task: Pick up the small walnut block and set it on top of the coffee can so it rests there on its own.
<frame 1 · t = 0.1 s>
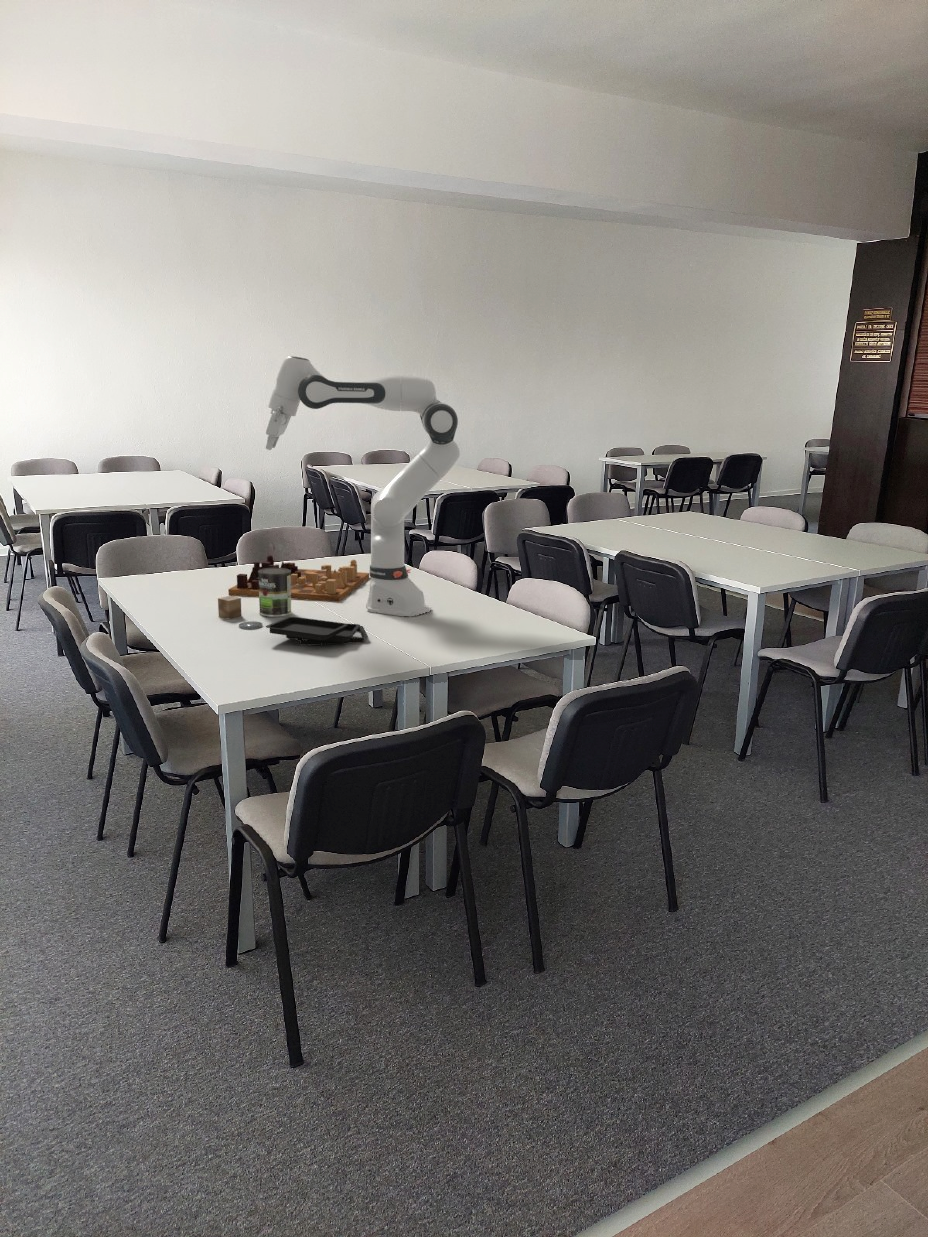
hand: (270, 448, 285), 52 cm above the table, tool tilted 20°, fingers open, 8 cm apart
walnut block: (230, 616, 284), on the table
slate coaster: (250, 627, 274), on the table
gameboard: (302, 588, 329), on the table
coffee can: (275, 613, 290), on the table
tray: (319, 642, 260), on the table
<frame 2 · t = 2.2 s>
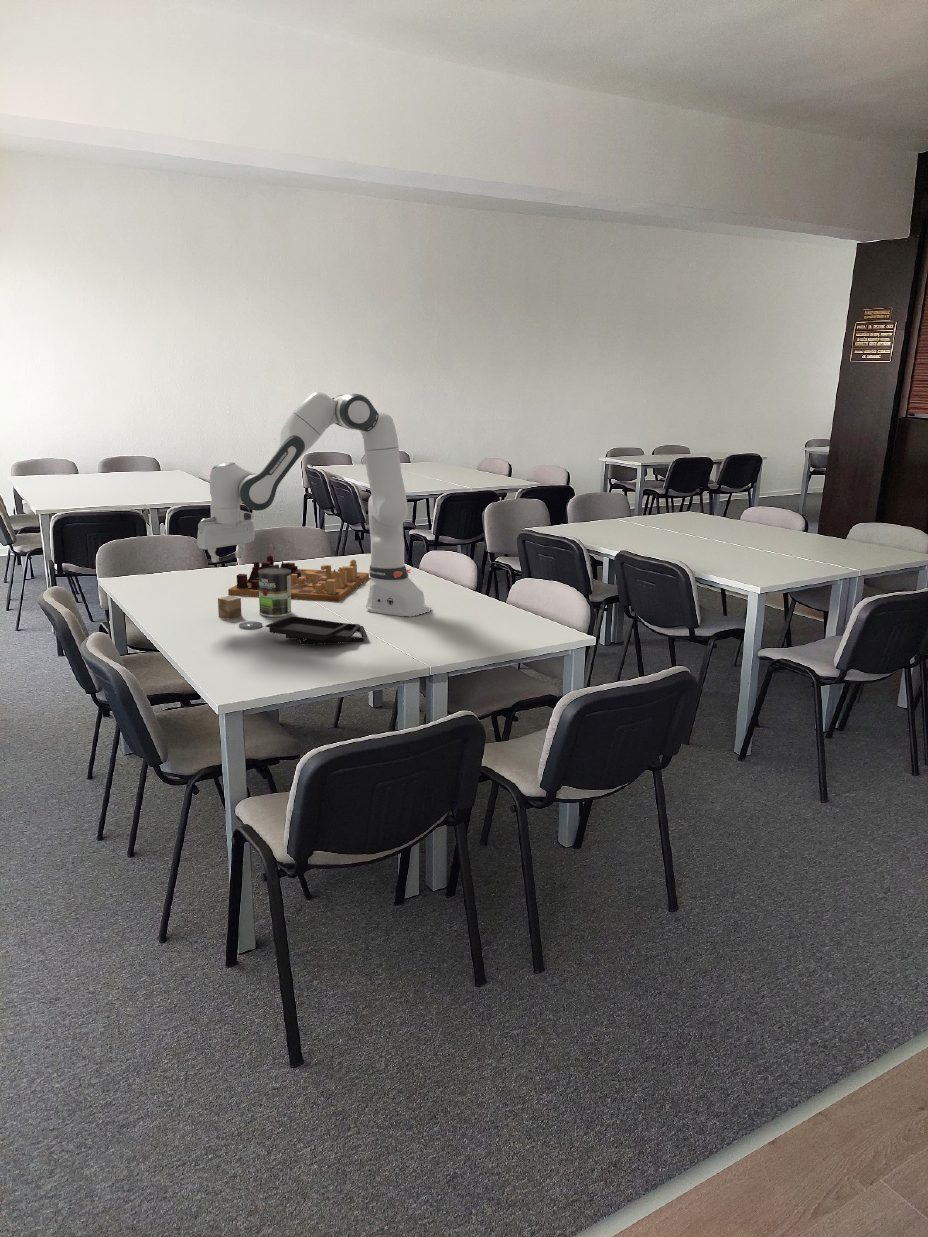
hand: (227, 559, 280), 18 cm above the table, tool pointing down, fingers open, 8 cm apart
nothing on the table moved.
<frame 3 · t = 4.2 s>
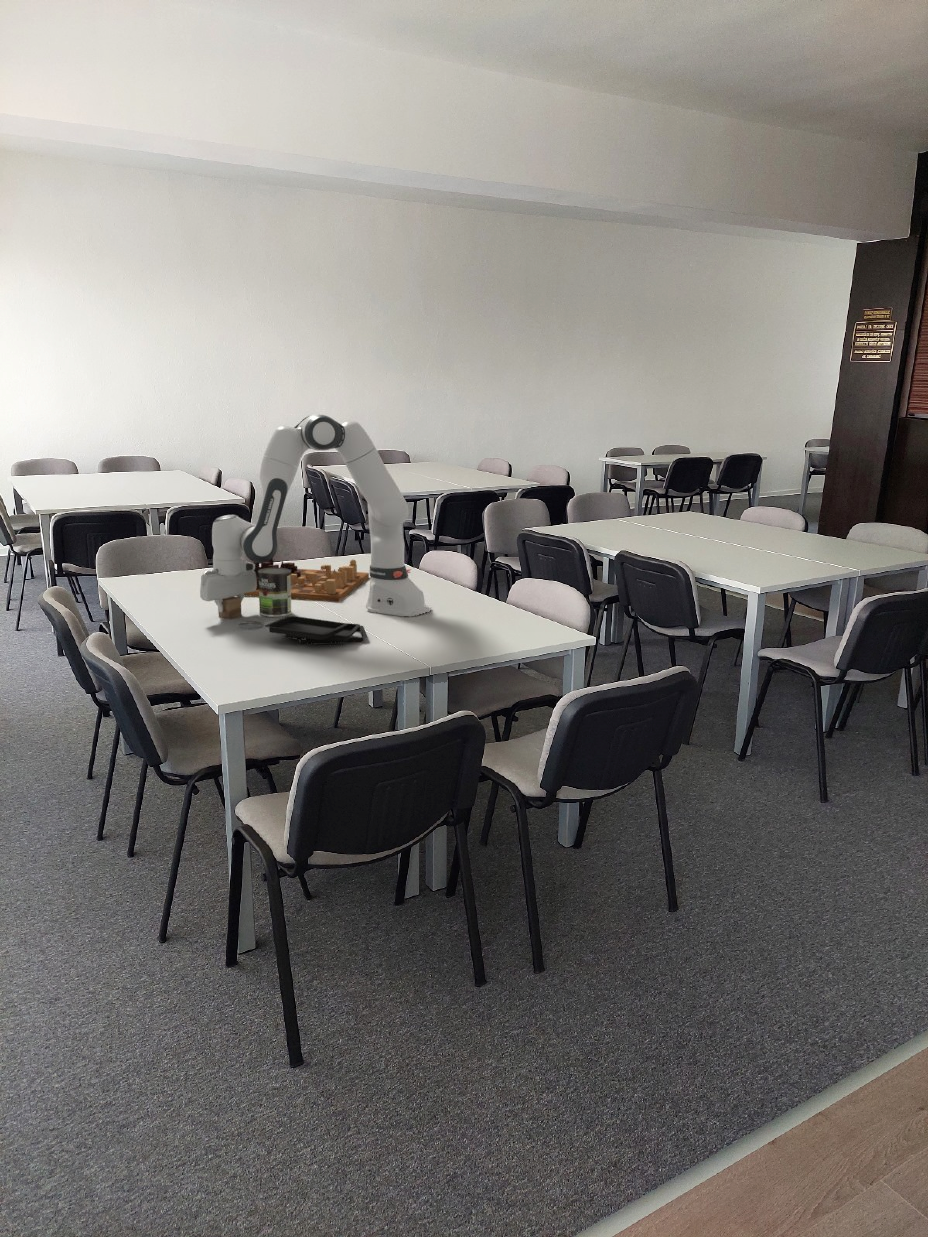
hand: (229, 609, 284), 2 cm above the table, tool pointing down, fingers closed on walnut block, 5 cm apart
walnut block: (230, 616, 284), on the table, touching gripper
everything else where it was.
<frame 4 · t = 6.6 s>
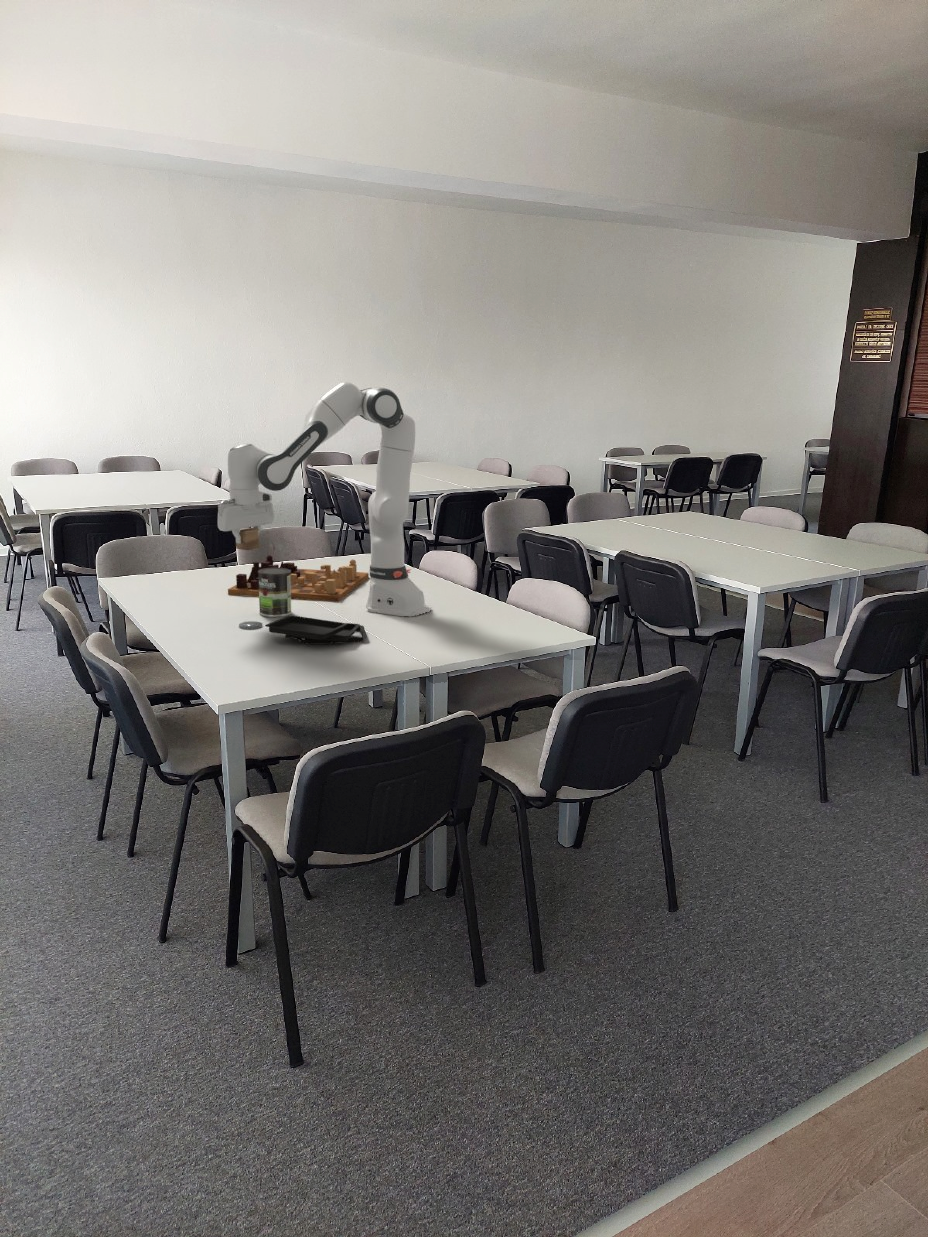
hand: (247, 541, 281), 24 cm above the table, tool pointing down, fingers closed on walnut block, 5 cm apart
walnut block: (247, 548, 281), point 22 cm above the table, touching gripper
everything else where it was.
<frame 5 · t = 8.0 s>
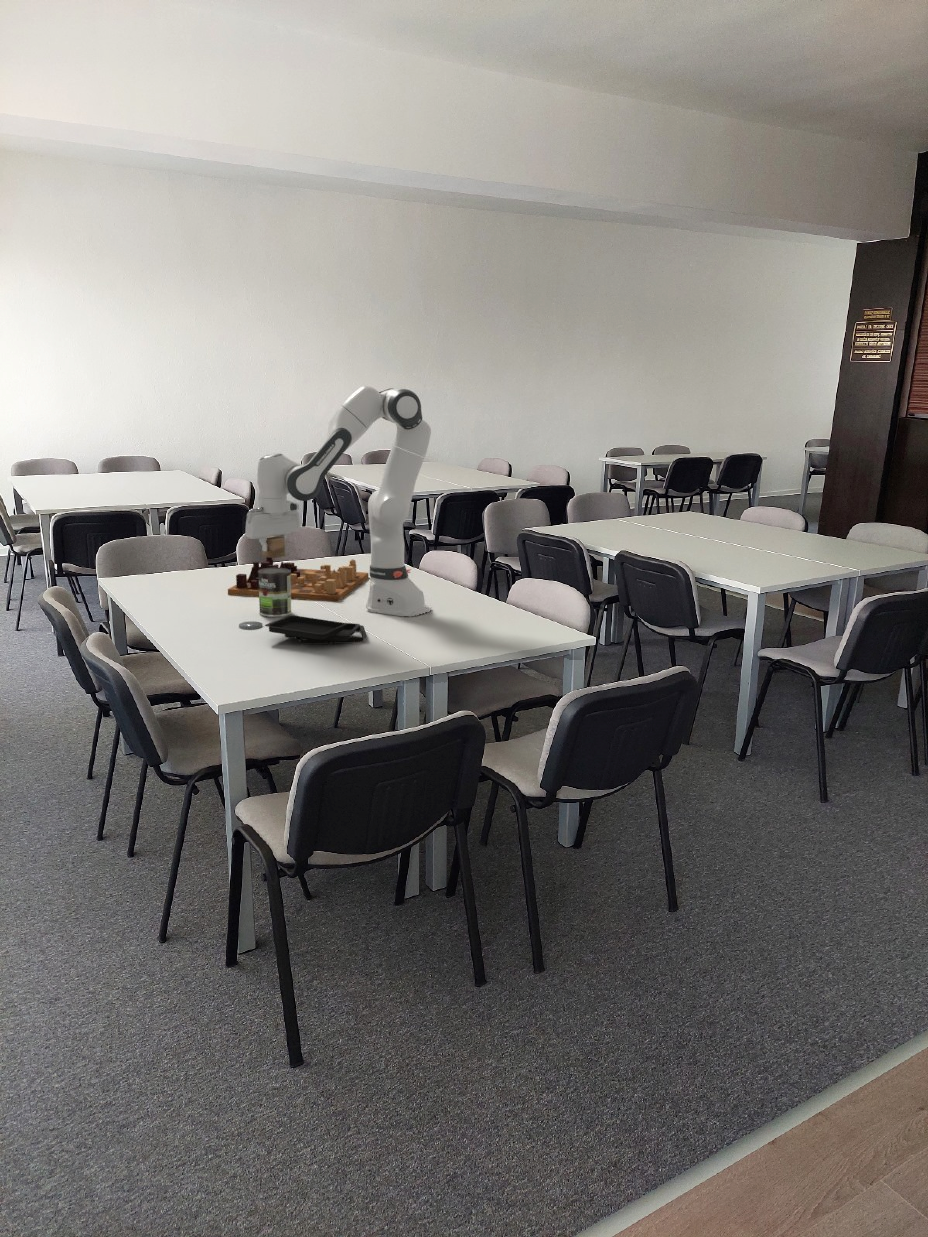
hand: (273, 549, 284), 21 cm above the table, tool pointing down, fingers closed on walnut block, 5 cm apart
walnut block: (273, 556, 285), point 19 cm above the table, touching gripper
everything else where it was.
when the fingers open (17 cm above the table, at t = 9.1 s): walnut block stays where it is, resting on coffee can.
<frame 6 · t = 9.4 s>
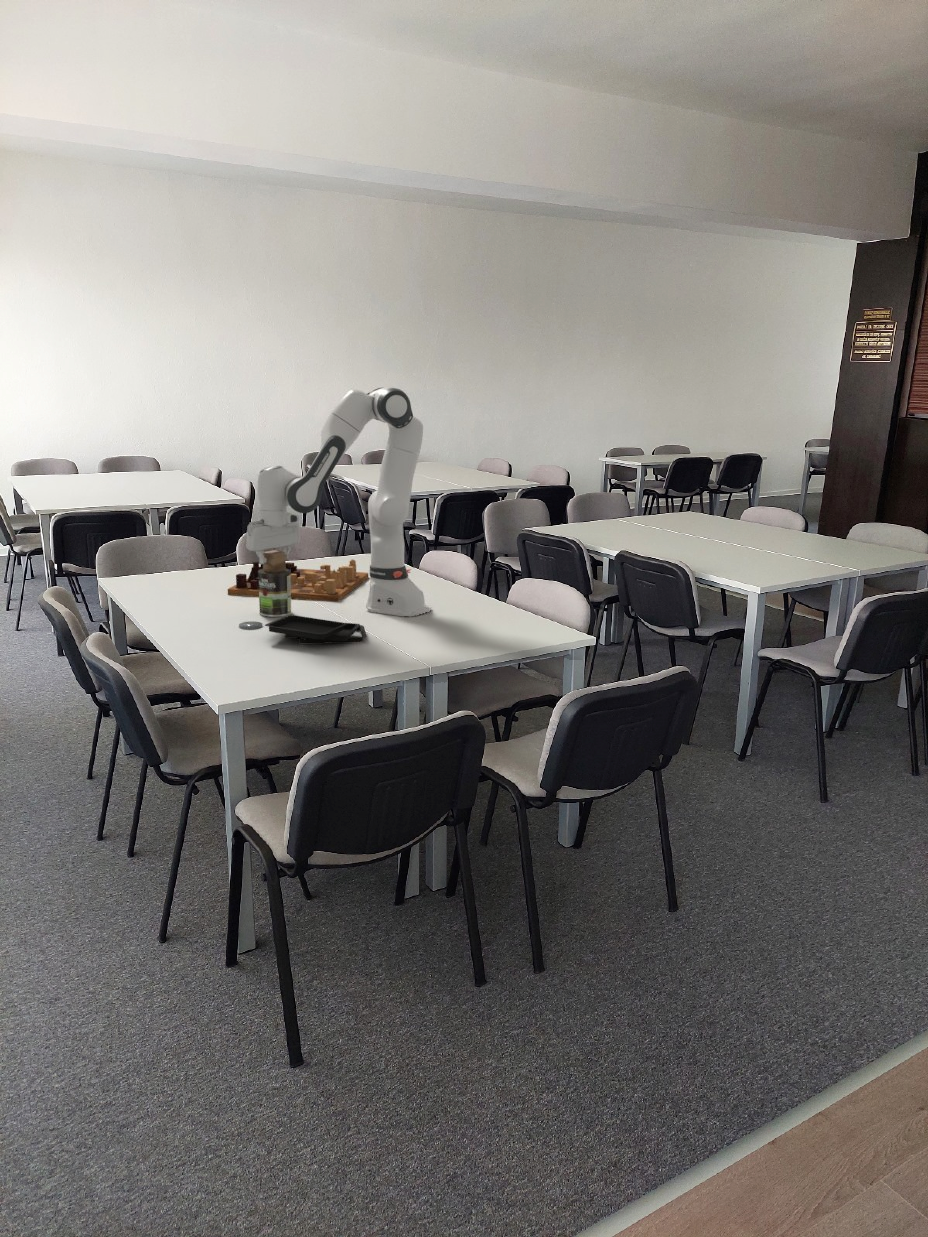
hand: (274, 561, 285), 17 cm above the table, tool pointing down, fingers open, 8 cm apart
walnut block: (274, 570, 286), point 14 cm above the table, touching coffee can
coffee can: (275, 613, 290), on the table, touching walnut block
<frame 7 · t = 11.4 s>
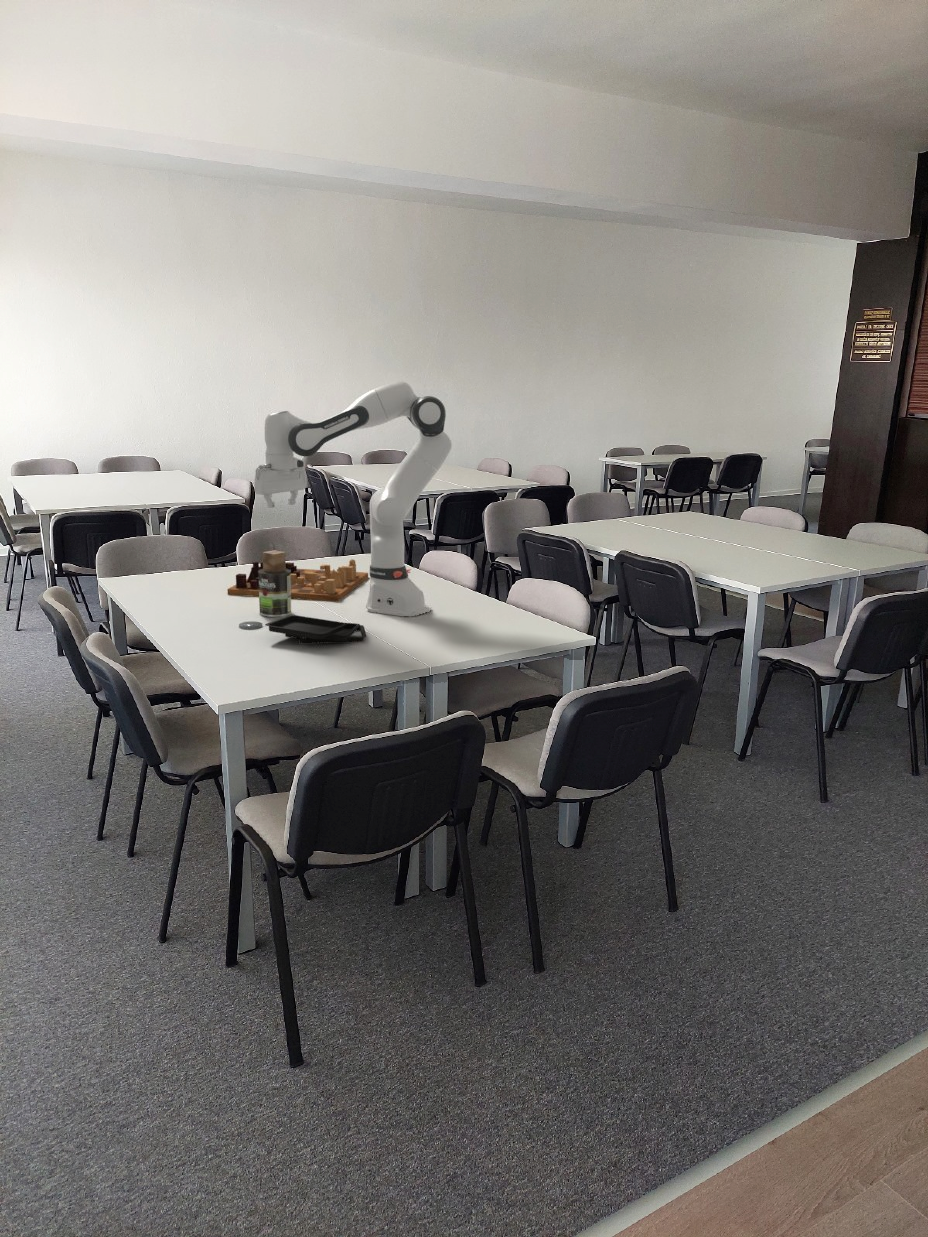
hand: (281, 506, 290), 34 cm above the table, tool pointing down, fingers open, 8 cm apart
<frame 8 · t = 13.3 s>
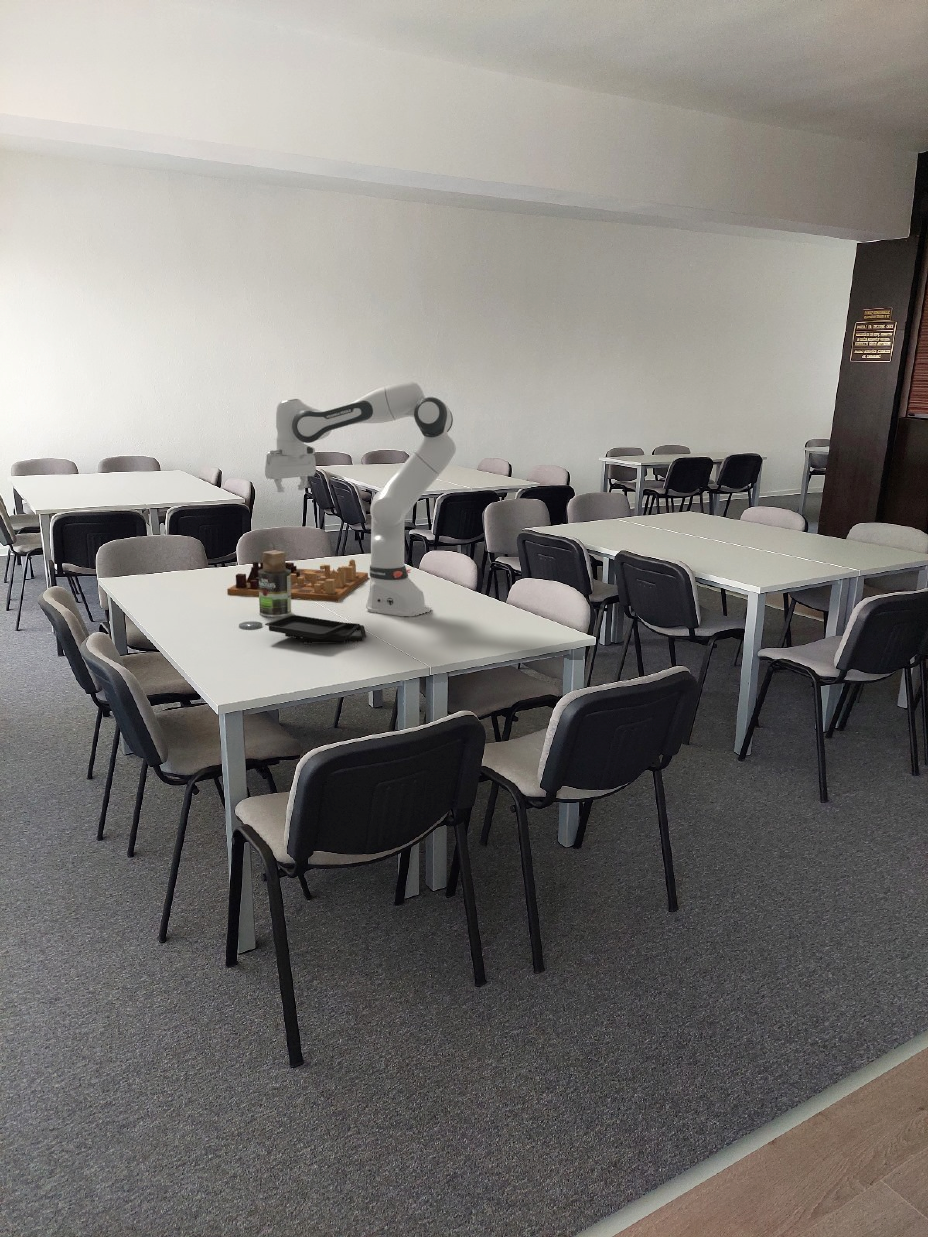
hand: (291, 491, 300), 37 cm above the table, tool pointing down, fingers open, 8 cm apart
at the end: walnut block inside the target area on the coffee can (0.1 cm from its centre), point 14.3 cm above the coffee can's base; the gripper is holding nothing; coffee can tilted 0° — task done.
